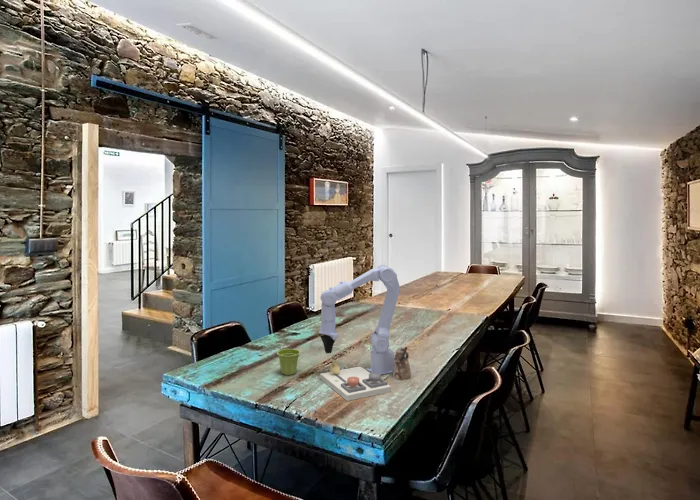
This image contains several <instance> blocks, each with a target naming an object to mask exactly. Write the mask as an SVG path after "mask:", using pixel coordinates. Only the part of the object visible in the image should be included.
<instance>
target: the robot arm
mask: <svg viewBox="0 0 700 500" xmlns="http://www.w3.org/2000/svg"><path fill="white" fill-rule="evenodd" d="M394 270H395V269H393V268H391V267H390V266H387V265H385V264H380V265H379V266H377V267H374V268H371V269H369V270H367V271H365V272H364V273H363V274H361V275H359V276H357V277H356V278H354V279H352V280H351V281H347V280H344V281H342V280H341V281H339V284H336V285H335V286H333V287H332V286H330V287H329V288H328V289H326V290H324V291H322V293H321V294H320V296H319V298H320V300H321V305H320V306H321V307H320V308H321V312H320V315H321V316H320V318H321V319H320V321H321V322H320V326H319V328H318V329H319V330H318V334H319V335H320V336H319V337H320V339H321V340H322V344H323V348H324V352H325V354H332V352H333V347H334V344H335V342H336V340H339V334H338V333H337V330H336V307H335V306H336V305H335V304H336V303H337V301H340V300H342V299H344V298H346V297H348V296H349V295H352V294H353V291H354V289H356V288H358V287H361V286H362V285H365V284H367V283H368V282H382V284H383V285H384V286H385V288H386V293H385V296H384V299H383V304H382V308H381V311H380V315H379V319H378V322H377V325H376V327H375V329H374V332H373V333H372V334H371V336H370V338H369V341H370V344H371V345H372V346H371V348H370V368H366V371H368V372H369V373H379V374H381V375H388V374H391V373H392V374H393V370H394V364H395V360H394V358H395V353H394V350H392V349H391V348H390V342H389V339H390V328H391V323H392V320H393V316H394V313H395V309H396V306H397V302H398V298H399V294H400V292H401V286H400V283H399V280H398V275H397V273H396V272H395V271H394Z"/></svg>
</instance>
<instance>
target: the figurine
mask: <svg viewBox="0 0 700 500" xmlns="http://www.w3.org/2000/svg"><path fill="white" fill-rule="evenodd" d="M407 350H408V346H405V347H401V346H400V347H398V348H397V349H396V351H395V355H394V370H393V372H392V377H393V379H395V380H400V381H405V380H409V379H410V378H411V365H410V363H409V353H408V351H407Z"/></svg>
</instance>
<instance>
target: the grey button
mask: <svg viewBox="0 0 700 500" xmlns="http://www.w3.org/2000/svg"><path fill="white" fill-rule="evenodd" d="M369 373H370V374H369V380H370V381H373V382H377V381H380V380H381V379H382V378H381V374H379V373H371V372H369Z"/></svg>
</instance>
